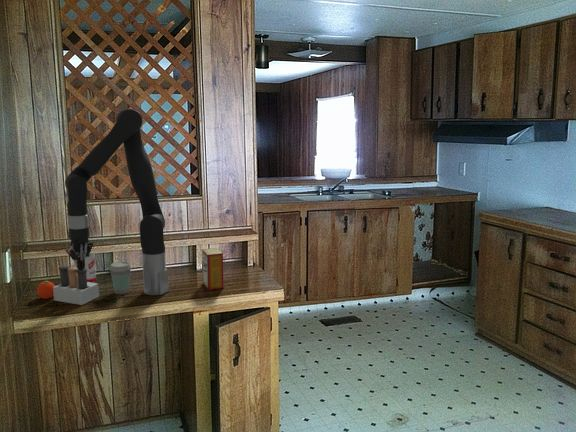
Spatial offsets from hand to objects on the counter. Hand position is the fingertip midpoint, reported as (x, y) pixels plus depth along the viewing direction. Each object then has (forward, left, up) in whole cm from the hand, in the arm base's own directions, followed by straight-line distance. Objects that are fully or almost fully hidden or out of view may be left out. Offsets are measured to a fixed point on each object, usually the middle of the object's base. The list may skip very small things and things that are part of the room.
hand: (81, 269), depth 205 cm
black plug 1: (+8, 0, -8) cm, 12 cm away
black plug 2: (0, 0, -8) cm, 8 cm away
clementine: (+16, +3, -13) cm, 21 cm away
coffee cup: (-8, -14, -13) cm, 21 cm away
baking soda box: (-40, -34, -13) cm, 54 cm away
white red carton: (+13, -19, -13) cm, 27 cm away
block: (+4, -1, -13) cm, 14 cm away
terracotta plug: (+4, 0, -8) cm, 9 cm away
